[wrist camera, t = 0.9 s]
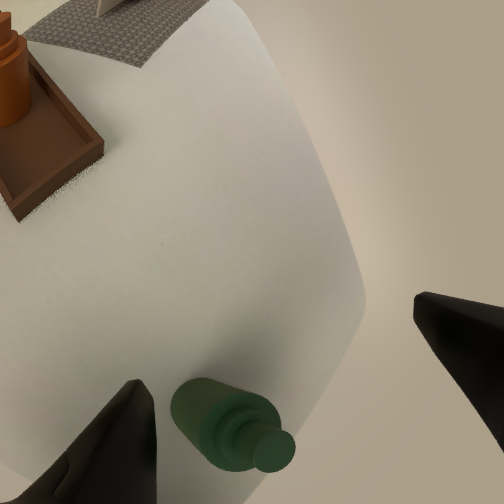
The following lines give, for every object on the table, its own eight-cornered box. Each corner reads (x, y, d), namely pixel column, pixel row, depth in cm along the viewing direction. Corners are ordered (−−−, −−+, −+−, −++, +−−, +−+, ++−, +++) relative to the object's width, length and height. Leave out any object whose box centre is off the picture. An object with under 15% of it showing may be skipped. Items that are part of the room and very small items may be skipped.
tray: (103, 156, 19) (104, 140, 17) (18, 222, 15) (11, 211, 13) (16, 48, 17) (16, 34, 15) (-45, 87, 12) (-49, 74, 11)
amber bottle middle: (12, 133, 15) (-6, 38, 7) (-21, 122, 14) (-42, 36, 6) (41, 96, 17) (39, 4, 9) (8, 87, 15) (1, 3, 7)
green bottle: (225, 439, 17) (307, 491, 9) (165, 431, 16) (214, 497, 8) (237, 383, 19) (326, 405, 11) (177, 371, 18) (235, 397, 10)
